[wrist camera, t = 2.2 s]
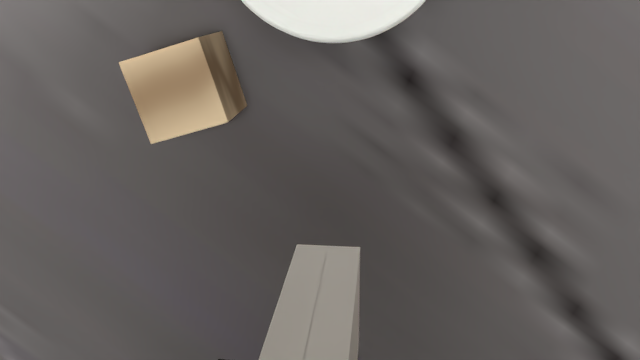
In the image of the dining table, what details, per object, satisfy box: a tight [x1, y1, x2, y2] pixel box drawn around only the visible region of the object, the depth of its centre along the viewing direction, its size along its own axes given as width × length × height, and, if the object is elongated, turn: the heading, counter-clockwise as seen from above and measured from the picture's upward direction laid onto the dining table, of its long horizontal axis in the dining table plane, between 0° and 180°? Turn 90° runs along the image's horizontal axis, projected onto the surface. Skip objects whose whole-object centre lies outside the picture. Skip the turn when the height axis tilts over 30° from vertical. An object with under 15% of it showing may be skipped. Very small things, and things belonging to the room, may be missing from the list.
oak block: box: [119, 31, 247, 144], centre depth 35 cm, size 5×5×5 cm
